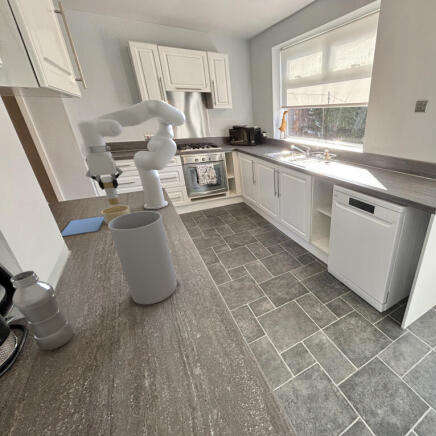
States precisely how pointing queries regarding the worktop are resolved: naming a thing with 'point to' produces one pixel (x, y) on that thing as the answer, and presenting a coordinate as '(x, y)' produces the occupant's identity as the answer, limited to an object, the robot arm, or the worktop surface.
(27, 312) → the plastic bottle
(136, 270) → the cylinder vase
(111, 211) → the bowl
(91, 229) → the cloth
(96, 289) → the worktop surface
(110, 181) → the sprinkles bottle
